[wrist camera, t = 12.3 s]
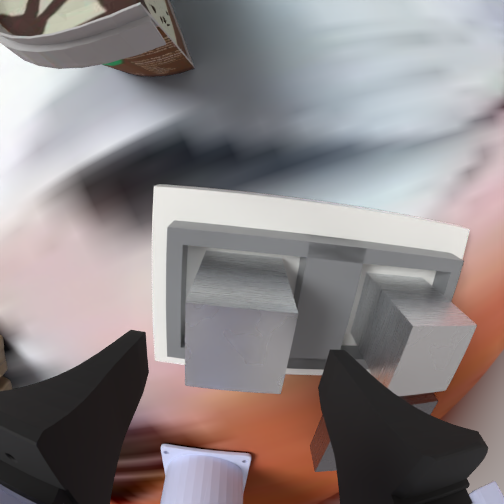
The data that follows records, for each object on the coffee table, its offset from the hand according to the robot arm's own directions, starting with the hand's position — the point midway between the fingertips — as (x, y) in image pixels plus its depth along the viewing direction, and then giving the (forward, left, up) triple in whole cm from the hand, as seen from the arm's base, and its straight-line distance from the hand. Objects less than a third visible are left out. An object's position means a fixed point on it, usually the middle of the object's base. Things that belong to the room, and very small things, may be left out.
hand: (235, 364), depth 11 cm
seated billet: (0, -9, -6) cm, 11 cm away
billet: (0, 0, -6) cm, 6 cm away
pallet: (0, -5, -7) cm, 8 cm away
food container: (+15, +8, -7) cm, 19 cm away
